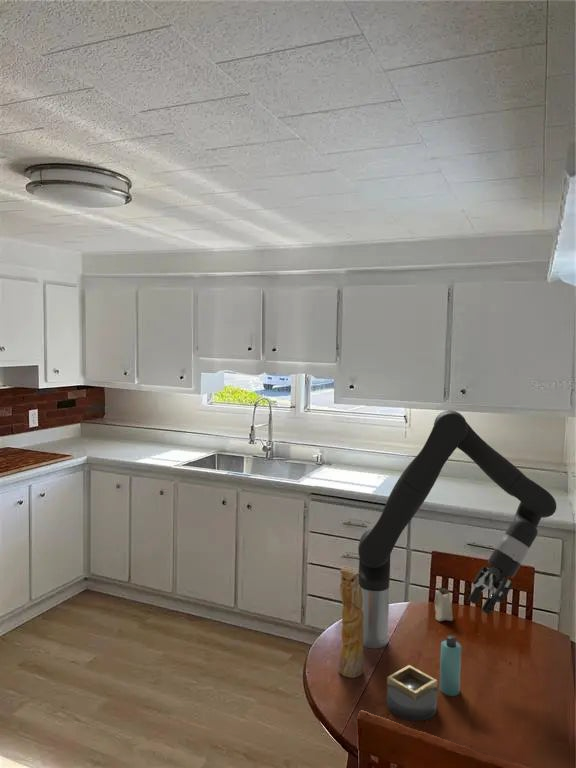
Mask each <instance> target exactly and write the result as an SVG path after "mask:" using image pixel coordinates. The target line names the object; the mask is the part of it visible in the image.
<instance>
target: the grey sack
mask: <svg viewBox="0 0 576 768" xmlns="http://www.w3.org/2000/svg"><path fill="white" fill-rule="evenodd" d="M450 598H451V597H450V590H448V589H447V588H444V587H439V588H438V592H437V593H436V595H435V597H434V602H433V603H434V610H435V621H438V622H443V621H450V622H453V620H454V617H453V607H452V603H451V599H450Z"/></svg>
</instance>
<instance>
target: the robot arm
mask: <svg viewBox="0 0 576 768" xmlns="http://www.w3.org/2000/svg"><path fill="white" fill-rule="evenodd" d="M424 443H425V444H424V446H423V447H422V449H421V450H420V451H419V453H417V455H416V456H415V457H414V459H413V460H411V461H410V463H409V464H408V465H407V467H406V468H405V469H404V471H403V472H402V473H401V474H400V476H399V478H398V480H397V481H396V483H395V484H394V486H393V488H392V490H391V492H390V494H389V496H388V498H387V501H386V502H385V505H384V508H383V510H382V512H381V515H380V517H379V519H378V520H377V522H376V523H375V525H374V526H373V527H372V528H370V529H368V530H366V531H365V532H364V533H362V535H361V537H360V539H359V543H358V549H357V551H358V557H359V559H358V561H359V562H358V572H359V573H360V574H359V575H358V577H359V585H360V587H361V590H362V597H363V604H362V609H361V610H362V611H363V613H364V618H363V648H369V649H381V648H385V646H387V645H388V641H389V638H388V637H389V611H390V610H389V607H390V605H389V604H390V579H391V554H392V552H393V550H394V547H395V546H396V543H397V542H398V540H399V538H400V535H402V533H403V531H404V530H405V528H406V527H407V526H408V524H410V522H411V520H412V519H413V518H414V517H415V515H416V514H417V512H418V511H419V509H420V508H421V506H422V505H423V504H424V502H425V500H426V499H427V497H428V495H429V494H430V492H431V490H432V488H433V487H434V485H435V483H436V482H437V480H438V478H439V475H440V473H441V472H442V469H443V468H444V466H445V464H446V463H447V461H448V460H449V458H450V457H451V456H452V454H453V453H454V451H456V449H459V450H460V451H461V452H463V453H464V454H465V455H467V456H468V457H469V458H470V459H471V460H472V461H473V462H474V463H475V464H476V465H477V467H479V469H481V470H482V471H483V473H484V474H485V475H486V476H487V477H488V478H489V479H491V481H492V482H494V483H495V484H496V485H497V486H499V487H500V488H501V489H502V490H503V492H505V493H506V494H508V495H510V496H512V497H514V498H516V499H517V500H519V501H520V502H519V505H518V507H517V509H516V511H515V514H514V518H513V520H512V522H511V523H510V525H509V527H507V529H506V532H505V533H504V535H503V536H502V537H501V538H500V539H499V541H498V543H497V545H496V546H495V548H494V550H493V551H492V552H491V554H490V557H489V558H488V560H487V563H488V564H489V565H490V566H489V568H488V567H487V566H486V565H483V566H481V568H480V570H479V571H478V573H477V574H476V577H475V578H474V579H473V581H472V584H473V585H474V586H473V587H474V589H473V591H472V592H471V593H470V595H469V597H468V601H469V602H470V603H472V604H473V605H476V604H477V602H478V601H479V599H480V598H481V596H482V594H483V592H484V591H485V590H486V591H487V590H488V591H489V595H488V597H487V599H486V600H485V601H484V604H483V605H482V607H481V611H482V612H483V613H485V614H487V615H490V614H491V612H492V611H493V608H495V605H496V604H498V603H501V604H503V603H504V601H505V600H506V597H507V595H508V594H509V592H510V590H511V589H512V587H513V584H514V583H513V582H512V581H511V580H510V579H508V578H512V579H513V578H514V577H515V576H516V574H517V572H518V570H519V569H520V568H521V565H522V564H523V562H524V560H525V559H526V556H528V555H527V554H528V553H529V551H530V548H531V546H532V544H533V542H534V541H535V539H536V538H537V535H538V529H537V528H538V525H539V524H540V522H541V519H542V518H549V517H551V516H553V515H554V514H555V513H556V511H557V501H556V499H555V498H554V496H553V495H552V494H551V493H550V492H549V491H548V490H546V489H545V488H544V487H543V486H541V485H539V484H538V483H536V482H535V481H533V480H532V479H530V478H529V477H527V476H526V474H524V473H523V471H521V470H520V469H519V468H518V467H516V465H514V464H513V463H512V462H510V461H509V460H508V459H507V458H505V456H503V455H502V454H500V453H499V452H498V451H496V450H495V449H494V448H493V447H492V446H491V445H489V444H488V443H487V442H486V441H484V439H482V437H480V436H479V435H478V434H477V432H475V431H474V429H473V428H472V427H471V426H470V424H469V423H468V422H467V420H466V418H465V417H464V416H463V415H462V414H461V412H459V411H456V410H452V409H451V410H444V411H441V412H440V413H439V414H438V415H437V416H436V417H435V419H434V422H433V427H432V429H431V431H430V434H429V435H428V438H427V439H426V442H424Z"/></svg>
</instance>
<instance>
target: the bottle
mask: <svg viewBox="0 0 576 768" xmlns="http://www.w3.org/2000/svg"><path fill="white" fill-rule="evenodd" d="M461 661H462V645H461V643H459V642H458V641H457V637H456V636H454V635H453V634H452V635H450V634H449V635H447V636H446V640H443V641H441V643H440V663H439V664H440V665H439V691H440V693H442V694H443V695H445V696H451V697H454V696H458V695H459V694H460V687H461V665H462V662H461Z"/></svg>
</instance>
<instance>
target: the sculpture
mask: <svg viewBox="0 0 576 768" xmlns="http://www.w3.org/2000/svg"><path fill="white" fill-rule="evenodd" d="M339 573H340V574H341V575H340V584H339V588H340V589H339V590H340V597H341V603H342V606H343V607H342V609H341V610H342V611H341V615H342V616H341V617H342V618H341V623H342V627H341V640H342V641H341V644H342V645H341V650H340V657H339V662H338V673H340V675H342V676H343V677H346V678H352V679H353V678H358V677H360V676H361V675H363V674H364V646H363V618H364V613H363V611H362V610H361V609H362V604H363V597H362V590H361V587H360V585H359V577H358V575H359V574H360V573H359V571H357V570H355V569H351V568H344V569H343V568H342V569H341V568H340V569H339Z"/></svg>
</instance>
